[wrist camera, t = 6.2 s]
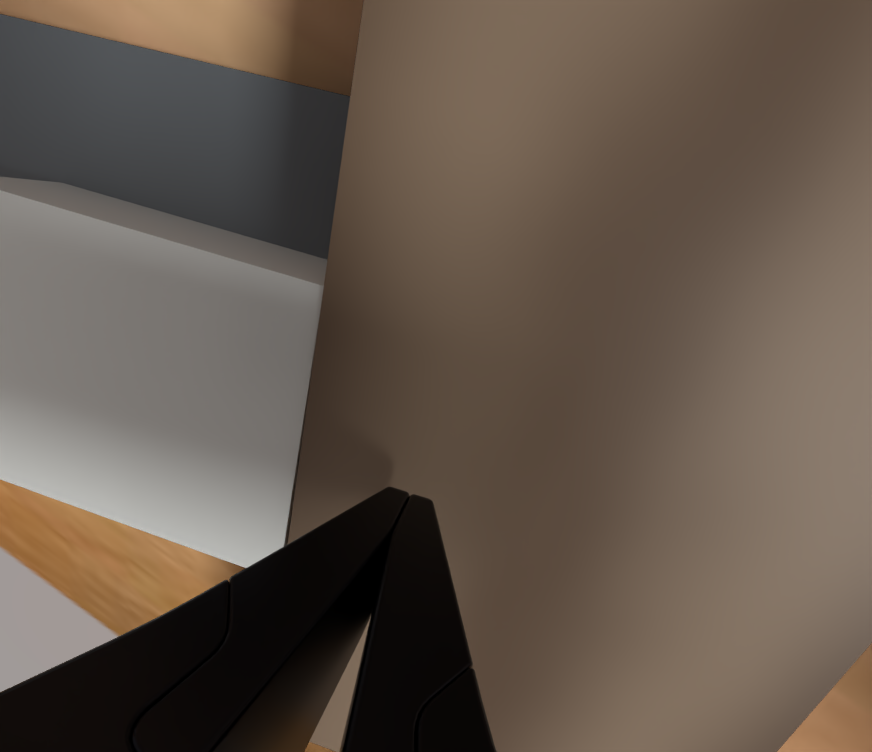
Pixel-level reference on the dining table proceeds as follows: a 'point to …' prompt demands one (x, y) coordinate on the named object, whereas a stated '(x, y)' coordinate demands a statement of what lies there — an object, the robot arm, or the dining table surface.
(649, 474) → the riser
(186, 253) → the coaster
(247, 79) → the mat
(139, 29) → the dining table surface
